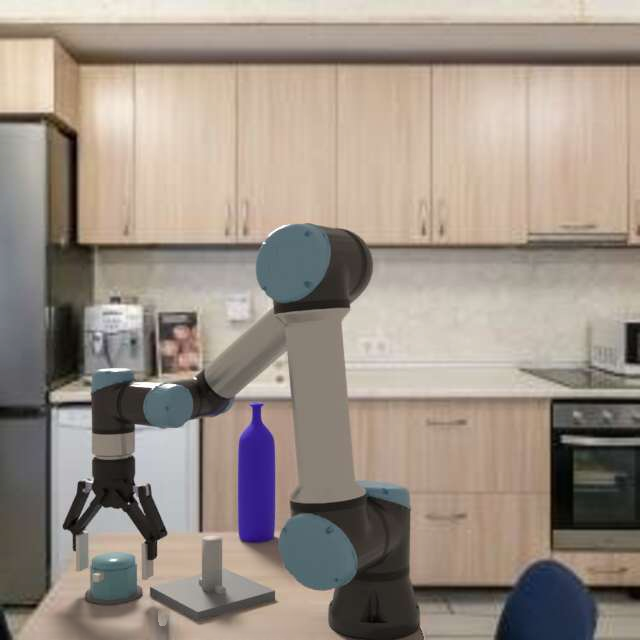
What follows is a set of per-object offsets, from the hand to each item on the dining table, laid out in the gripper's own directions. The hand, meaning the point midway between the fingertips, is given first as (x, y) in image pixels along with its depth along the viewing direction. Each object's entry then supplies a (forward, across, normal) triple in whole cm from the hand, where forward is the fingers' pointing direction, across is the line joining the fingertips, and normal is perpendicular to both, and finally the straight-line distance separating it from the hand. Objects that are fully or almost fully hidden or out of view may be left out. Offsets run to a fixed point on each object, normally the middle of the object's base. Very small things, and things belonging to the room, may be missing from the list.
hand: (114, 573), depth 151 cm
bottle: (+4, -9, -42) cm, 43 cm away
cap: (+3, 0, 0) cm, 3 cm away
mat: (+4, 0, 0) cm, 4 cm away
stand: (+4, -17, -5) cm, 18 cm away
